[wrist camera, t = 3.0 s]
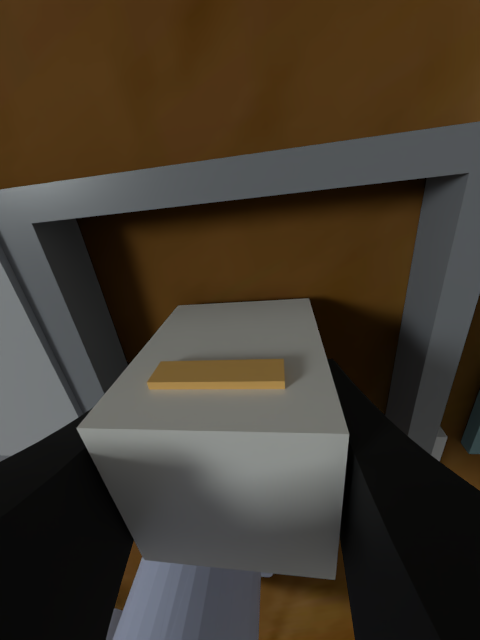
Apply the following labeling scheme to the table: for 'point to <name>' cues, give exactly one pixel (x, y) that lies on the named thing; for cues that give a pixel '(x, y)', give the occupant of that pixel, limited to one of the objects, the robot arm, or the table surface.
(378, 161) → the case
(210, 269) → the table surface
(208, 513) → the block
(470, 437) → the mat
